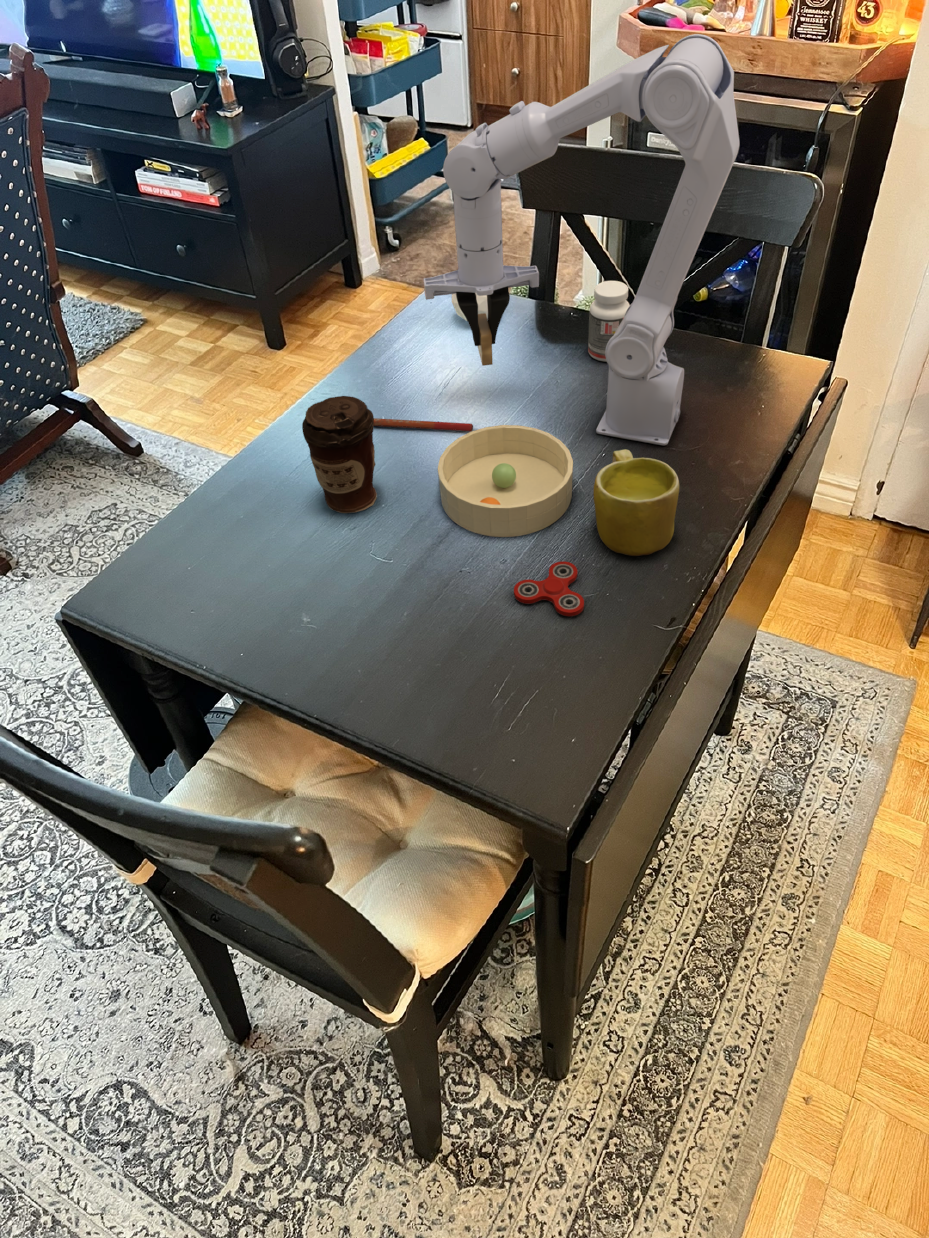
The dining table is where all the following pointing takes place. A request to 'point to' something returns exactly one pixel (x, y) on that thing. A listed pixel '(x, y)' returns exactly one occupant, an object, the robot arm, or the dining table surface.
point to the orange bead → (490, 501)
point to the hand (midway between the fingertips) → (484, 341)
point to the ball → (480, 300)
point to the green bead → (503, 475)
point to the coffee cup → (342, 451)
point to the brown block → (485, 340)
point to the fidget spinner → (553, 589)
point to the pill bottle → (606, 315)
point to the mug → (635, 504)
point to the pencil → (423, 424)
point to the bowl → (525, 502)
